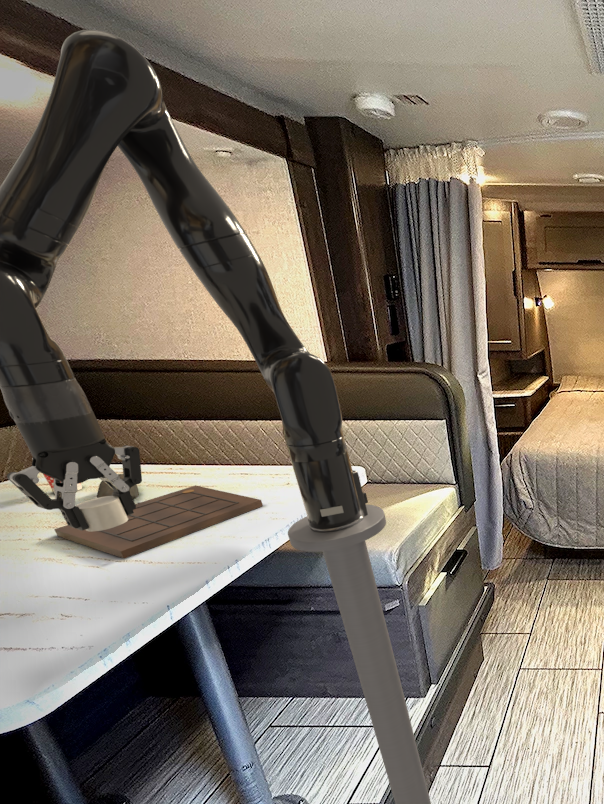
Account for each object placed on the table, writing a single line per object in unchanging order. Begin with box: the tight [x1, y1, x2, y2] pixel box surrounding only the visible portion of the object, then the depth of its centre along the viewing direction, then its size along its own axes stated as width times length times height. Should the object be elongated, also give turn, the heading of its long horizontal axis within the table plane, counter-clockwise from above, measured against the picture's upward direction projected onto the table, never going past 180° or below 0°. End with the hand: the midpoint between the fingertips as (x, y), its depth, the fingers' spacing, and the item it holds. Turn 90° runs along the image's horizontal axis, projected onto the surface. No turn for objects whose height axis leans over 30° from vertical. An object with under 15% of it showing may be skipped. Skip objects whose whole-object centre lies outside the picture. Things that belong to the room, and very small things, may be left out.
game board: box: [54, 485, 264, 560], centre depth 103 cm, size 24×24×2 cm
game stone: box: [75, 496, 129, 532], centre depth 77 cm, size 5×5×4 cm
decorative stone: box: [96, 473, 140, 500], centre depth 115 cm, size 17×6×4 cm, turn 42°
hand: (106, 520), depth 77 cm, fingers closed on game stone, 4 cm apart
